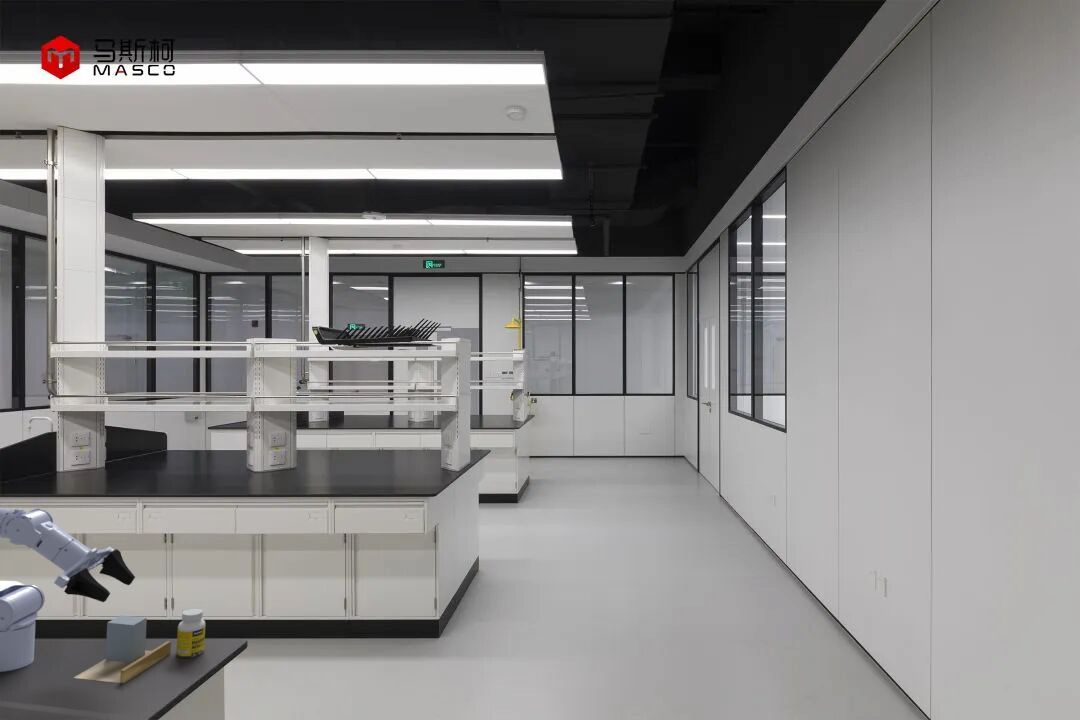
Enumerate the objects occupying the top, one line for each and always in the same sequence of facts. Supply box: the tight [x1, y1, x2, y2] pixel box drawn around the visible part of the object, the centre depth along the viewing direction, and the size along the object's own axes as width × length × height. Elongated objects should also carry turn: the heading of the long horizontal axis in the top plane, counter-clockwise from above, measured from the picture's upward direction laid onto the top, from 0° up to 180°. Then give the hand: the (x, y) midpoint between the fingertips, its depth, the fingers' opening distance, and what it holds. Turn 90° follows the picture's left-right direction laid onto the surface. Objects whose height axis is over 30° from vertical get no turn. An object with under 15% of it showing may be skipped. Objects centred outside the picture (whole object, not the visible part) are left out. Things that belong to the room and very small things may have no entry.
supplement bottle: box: [175, 608, 206, 659], centre depth 148 cm, size 5×5×10 cm
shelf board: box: [73, 640, 172, 684], centre depth 141 cm, size 11×14×3 cm
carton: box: [105, 615, 148, 663], centre depth 144 cm, size 4×6×8 cm
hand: (119, 589), depth 140 cm, fingers open, 7 cm apart
